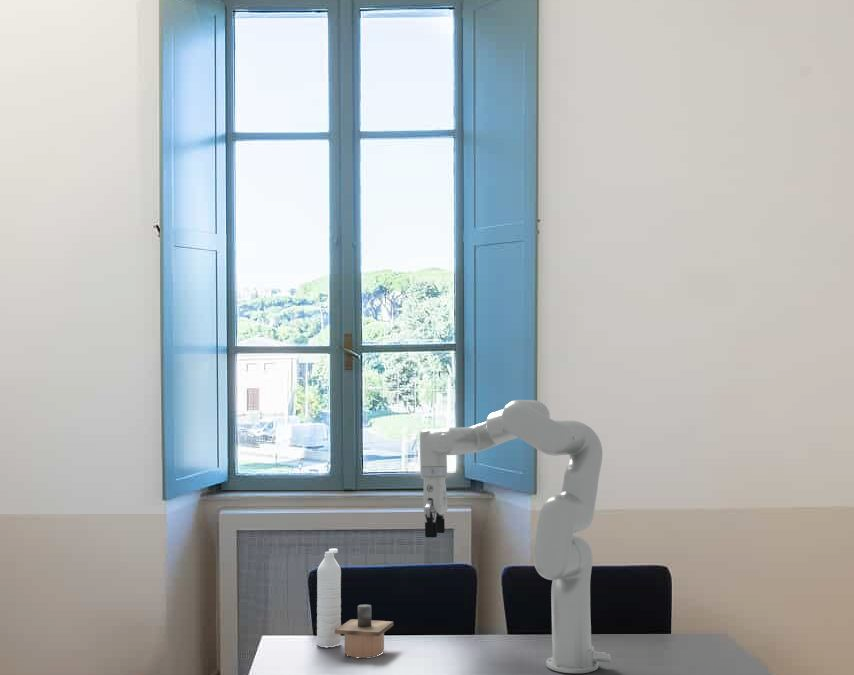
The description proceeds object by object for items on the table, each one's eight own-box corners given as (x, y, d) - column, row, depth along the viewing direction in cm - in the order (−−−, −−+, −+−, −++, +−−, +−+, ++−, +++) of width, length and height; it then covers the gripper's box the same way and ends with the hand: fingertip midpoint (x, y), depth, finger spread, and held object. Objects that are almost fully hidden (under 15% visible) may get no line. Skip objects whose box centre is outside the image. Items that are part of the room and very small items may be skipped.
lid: (393, 625, 224) (393, 602, 225) (378, 636, 213) (378, 612, 214) (351, 622, 228) (351, 600, 228) (334, 633, 216) (334, 609, 217)
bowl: (388, 649, 223) (388, 625, 224) (376, 659, 214) (376, 635, 214) (352, 646, 226) (352, 623, 226) (339, 656, 216) (339, 632, 217)
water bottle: (337, 649, 224) (337, 553, 226) (313, 648, 225) (314, 553, 227) (345, 640, 232) (345, 548, 235) (323, 639, 233) (323, 548, 236)
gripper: (440, 474, 227) (441, 539, 225) (453, 471, 243) (454, 531, 241) (413, 474, 228) (414, 538, 226) (427, 471, 245) (429, 531, 243)
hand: (435, 534), depth 234 cm, fingers open, 9 cm apart
